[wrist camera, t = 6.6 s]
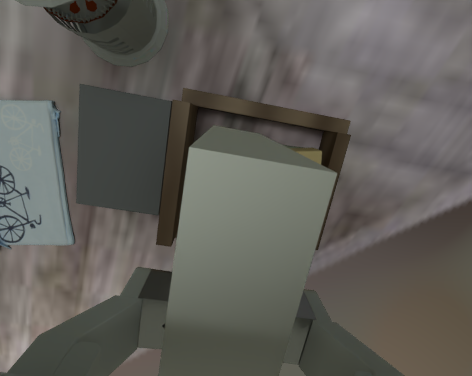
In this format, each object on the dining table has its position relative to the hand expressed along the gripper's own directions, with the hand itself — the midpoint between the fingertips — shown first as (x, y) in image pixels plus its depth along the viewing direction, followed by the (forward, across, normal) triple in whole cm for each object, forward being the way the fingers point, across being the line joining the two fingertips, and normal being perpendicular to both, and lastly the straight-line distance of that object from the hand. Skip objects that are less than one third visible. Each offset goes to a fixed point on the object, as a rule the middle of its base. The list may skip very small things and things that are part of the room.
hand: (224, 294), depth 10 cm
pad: (+24, +12, 0) cm, 27 cm away
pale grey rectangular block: (+12, 0, 0) cm, 12 cm away
